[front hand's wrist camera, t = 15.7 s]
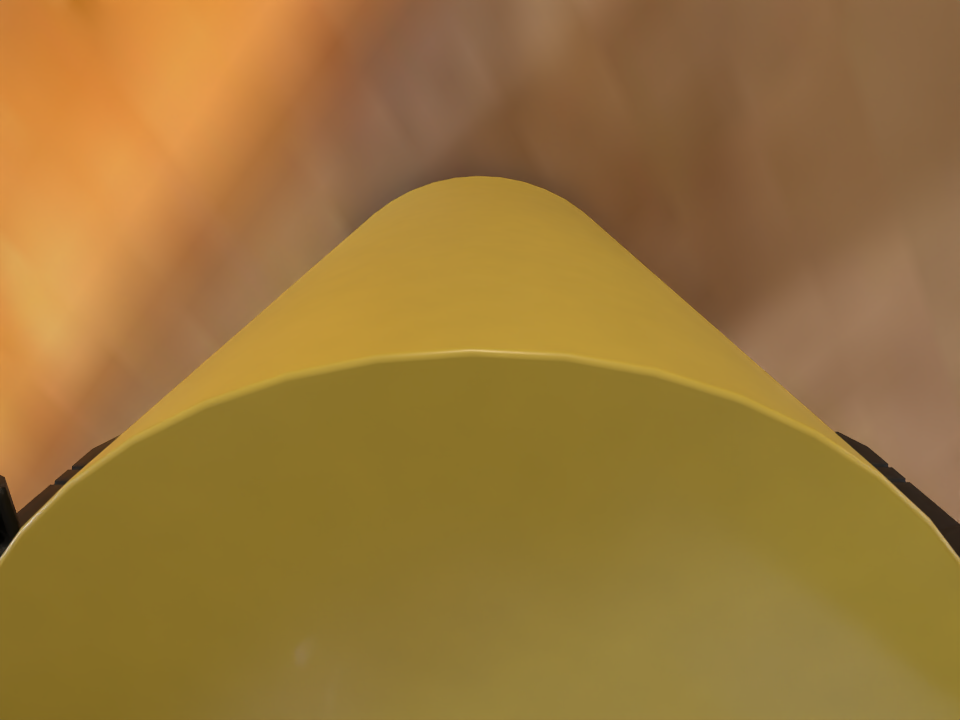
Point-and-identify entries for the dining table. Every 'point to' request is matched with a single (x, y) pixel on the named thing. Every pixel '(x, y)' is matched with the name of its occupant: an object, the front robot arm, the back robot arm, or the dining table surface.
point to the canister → (479, 510)
